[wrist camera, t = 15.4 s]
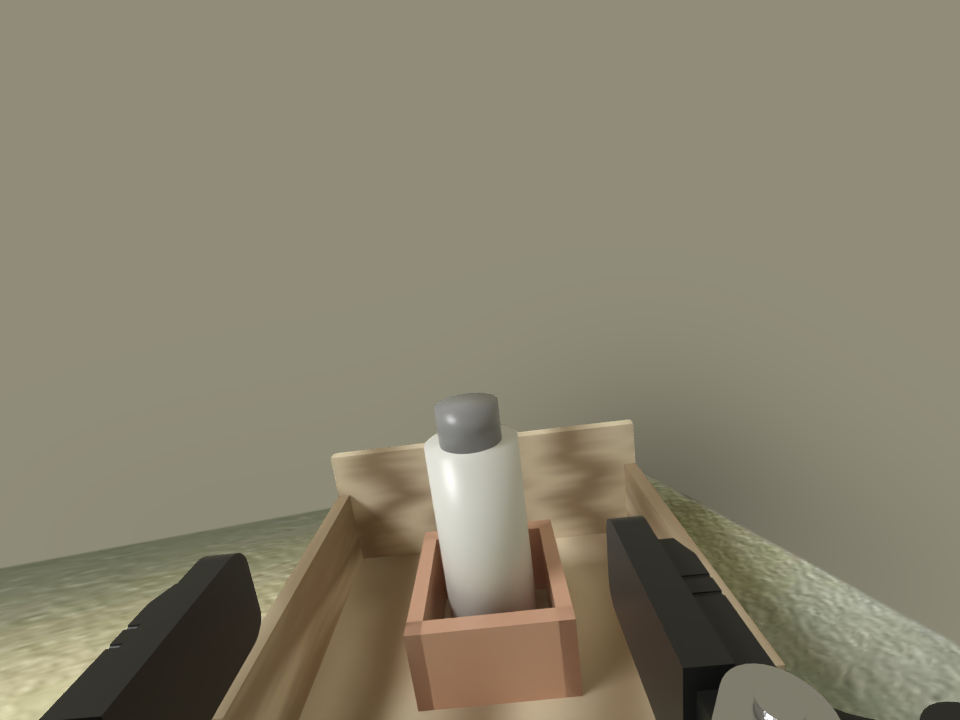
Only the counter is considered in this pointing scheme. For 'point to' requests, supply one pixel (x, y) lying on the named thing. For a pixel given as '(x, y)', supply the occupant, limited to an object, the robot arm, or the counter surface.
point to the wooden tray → (425, 605)
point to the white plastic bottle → (480, 508)
